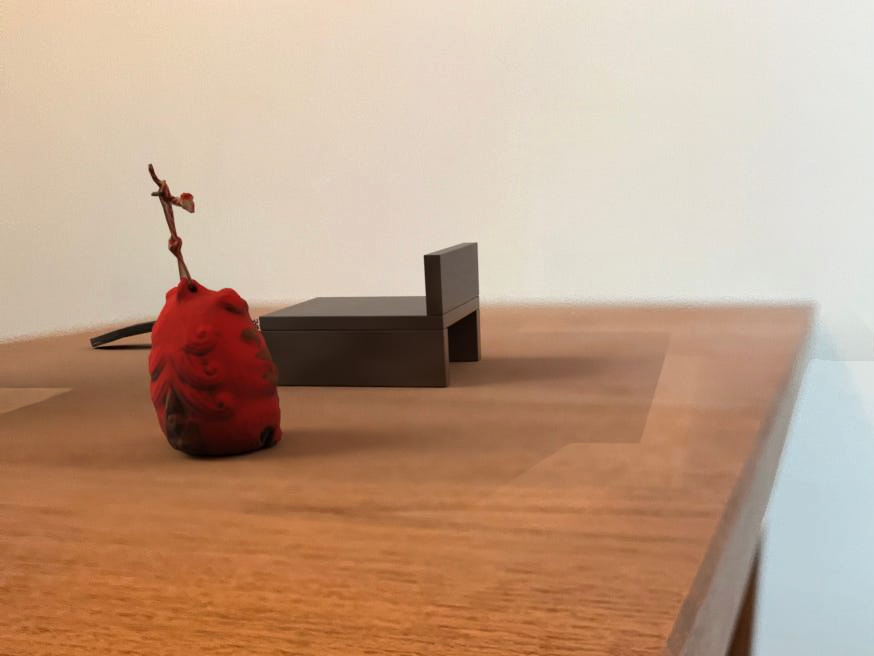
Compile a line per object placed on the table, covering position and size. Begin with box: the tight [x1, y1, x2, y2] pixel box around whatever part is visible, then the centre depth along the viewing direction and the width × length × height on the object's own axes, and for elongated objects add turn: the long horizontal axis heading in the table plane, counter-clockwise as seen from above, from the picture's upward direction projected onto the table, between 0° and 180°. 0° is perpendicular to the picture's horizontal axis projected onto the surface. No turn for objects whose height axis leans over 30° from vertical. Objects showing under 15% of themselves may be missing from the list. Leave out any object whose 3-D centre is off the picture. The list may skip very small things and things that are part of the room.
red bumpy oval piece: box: [147, 162, 283, 456], centre depth 55 cm, size 8×7×15 cm
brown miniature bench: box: [258, 241, 482, 388], centre depth 77 cm, size 14×12×9 cm
